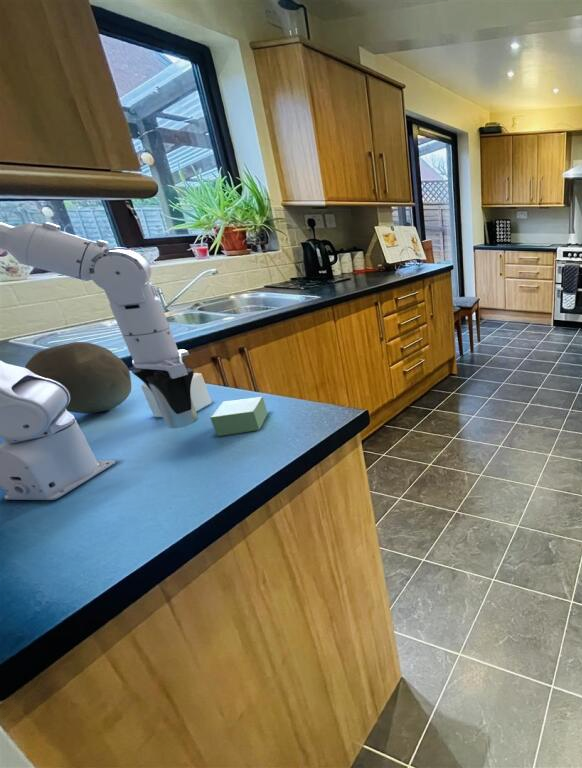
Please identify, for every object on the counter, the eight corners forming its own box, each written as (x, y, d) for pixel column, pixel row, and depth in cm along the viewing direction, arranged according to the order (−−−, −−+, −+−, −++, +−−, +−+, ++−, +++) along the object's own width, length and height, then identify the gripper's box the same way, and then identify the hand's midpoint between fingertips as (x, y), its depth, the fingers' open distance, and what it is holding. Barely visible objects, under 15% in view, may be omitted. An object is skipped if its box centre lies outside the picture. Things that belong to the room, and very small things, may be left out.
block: (259, 430, 76) (253, 411, 74) (217, 436, 74) (210, 417, 72) (267, 413, 82) (262, 396, 80) (228, 419, 80) (222, 401, 78)
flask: (185, 428, 67) (164, 376, 63) (159, 428, 67) (137, 376, 63) (204, 416, 71) (186, 366, 67) (180, 415, 71) (160, 366, 67)
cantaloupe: (107, 395, 92) (77, 332, 85) (158, 399, 89) (131, 334, 83) (29, 426, 79) (-13, 354, 73) (87, 431, 77) (48, 358, 70)
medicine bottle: (213, 403, 87) (194, 350, 82) (185, 418, 81) (163, 363, 76) (183, 402, 88) (162, 350, 83) (153, 417, 81) (129, 362, 76)
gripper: (196, 330, 62) (223, 408, 67) (158, 319, 69) (185, 390, 74) (139, 342, 56) (174, 426, 62) (104, 329, 64) (138, 405, 69)
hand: (177, 408), depth 68 cm, fingers closed on flask, 4 cm apart
